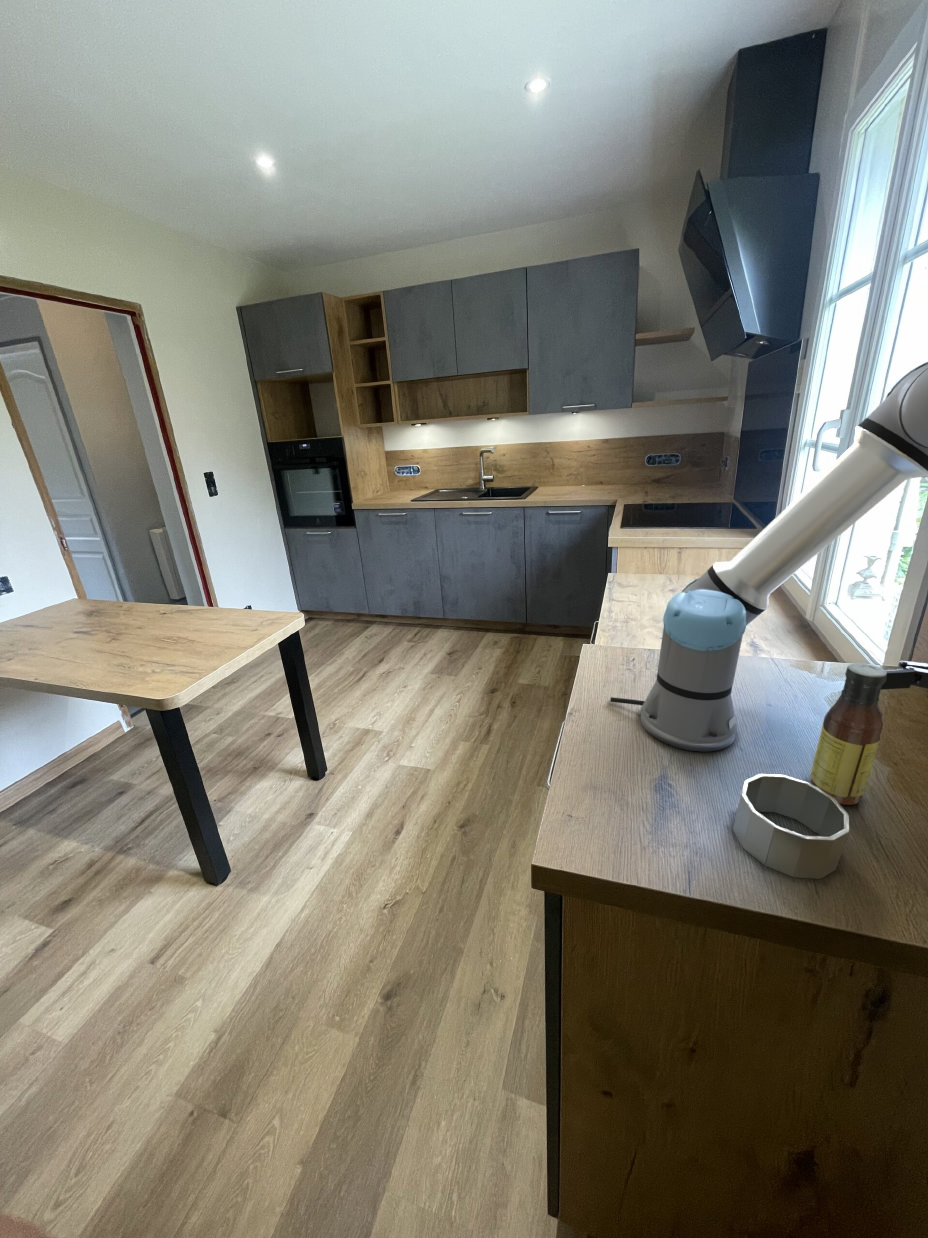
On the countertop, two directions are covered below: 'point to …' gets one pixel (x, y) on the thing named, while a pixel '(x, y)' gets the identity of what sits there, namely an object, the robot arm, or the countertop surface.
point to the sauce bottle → (850, 736)
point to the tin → (782, 844)
